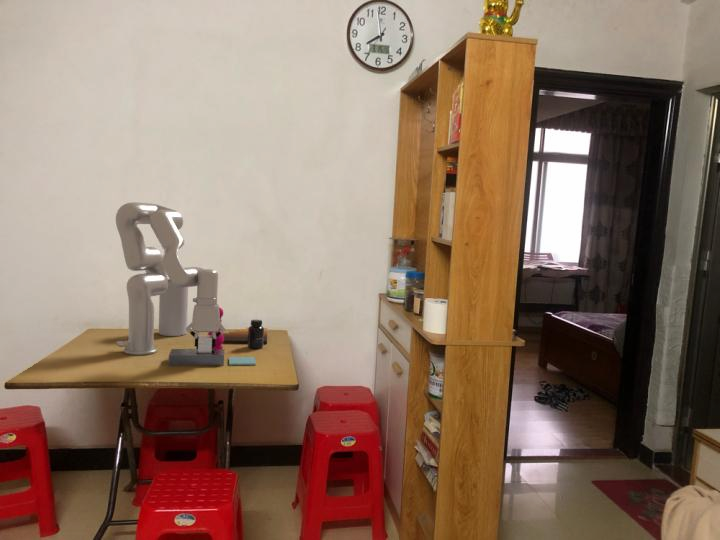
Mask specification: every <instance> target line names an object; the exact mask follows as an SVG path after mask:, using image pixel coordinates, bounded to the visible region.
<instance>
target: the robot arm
mask: <svg viewBox="0 0 720 540" xmlns="http://www.w3.org/2000/svg"><path fill="white" fill-rule="evenodd" d="M115 214H116V215H115V224H116V225H115V226H116V229H117V232H118V234H119V235H118V236H119V237H120V241H121V247H122V252H123V258H124V263H125V265H126V267H127V269H128V270H130V271H133V272H139V271H140V272H141V271H142V272H143V271H145V273H138V274H134V275H132V276H131V277H129V279H128V280H127V282H126V292H127V298H128V340H125V341H116V346H117V347H118V348H123V347H124V350H123V352H124V354H126V355H132V356H145V355H152V354H155V353H157V352H158V348H157V346H154V338H155V337H154V334H155V333H154V332H155V331H154V330H155V305H154V302H153V300H152V298H151V297H156V296H160V295H161V294H163V293H165V292H166V290H167V288H168V279H170V280H171V282H172V283H173V284H174V285H175V286H176V287H179V288H186V287H188V288H190V287H191V288H192V287H196V297H195V298H192V302H193V303H196V304H194V307H193V309H192V310H193V311H192V320H191V322H190V323H189V324H188V325H187V328H186V331H187V333H189V334H190V335H191V336H192V337H193V338H194V347H195V349H198V337H199V335H200V333H209V332H212V335H213V338H212V349H213V348H214V347H215V346H216V338H217V337H218V336H219V335H220V334H221V333H222V334H223V333H225V332H226V327H224V325H223V324H222V322H221V323H220V312H219V307H220V306H219V304H218V283H219V282H218V280H219V273H218V271H217V270H216V269H208V268H202V267H198V266H190V267H183V265H182V264H181V261H180V259H179V256H178V253H179V250H180V249H181V248H183V246H184V245H185V240H184V237H183V236H182V234H181V232H180V231H179V230H180V229H182V228H183V225H184V219H183V216H182V214H181V213H180V212H179V211H177V210H176V209H172V208H170V207H166V206H163V205H160V204H156V203H151V202H150V203H148V202H135V201H134V202H127V203H124V204H123V205H121V206H120V207H119V208H118V209H117V212H116V213H115ZM138 225H150V227H151V229H152V231H153V233H154V235H155V236H156V238H157V240H158V242H159V244H160V246H161V248H162V249H163V254H162V253H161V251H160V250H159V249H158V248H156V247H153V246H146V243H145V240H144V239H145V238H144V235H143V233H142V231H141V229H140V228H139V227H138ZM217 304H218V305H217ZM219 327H220V329H221V330H220V331H218V330H219ZM217 331H218V332H217ZM216 332H217V333H216Z"/></svg>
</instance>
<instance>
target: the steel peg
mask: <svg viewBox="0 0 720 540" xmlns="http://www.w3.org/2000/svg"><path fill="white" fill-rule="evenodd" d="M198 336H199V337H198V354H212V335H208V334H198Z"/></svg>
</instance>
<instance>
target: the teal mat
mask: <svg viewBox="0 0 720 540" xmlns="http://www.w3.org/2000/svg"><path fill="white" fill-rule="evenodd" d="M228 359H229V360H228V366H230V367H231V366H232V365H233V367H235V366H234V365H257V362H256V357H255V356H229V357H228Z"/></svg>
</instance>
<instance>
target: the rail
mask: <svg viewBox="0 0 720 540" xmlns="http://www.w3.org/2000/svg"><path fill="white" fill-rule="evenodd" d="M204 365H205V366H206V367H209V366H210V367H211V366H212V367H215V366H216V365H217V366H218V367H219V366H220V367H221V366H224V365H225V349H224V348H222V349H212V354H198V349H196V348H171V350H170V352H169V354H168V367H169V366H170V367H177V366H179V367H180V366H181V367H182V366H183V367H185V366H186V367H193V366H194V367H205V366H204ZM214 365H215V366H214ZM217 366H216V367H217Z"/></svg>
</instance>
